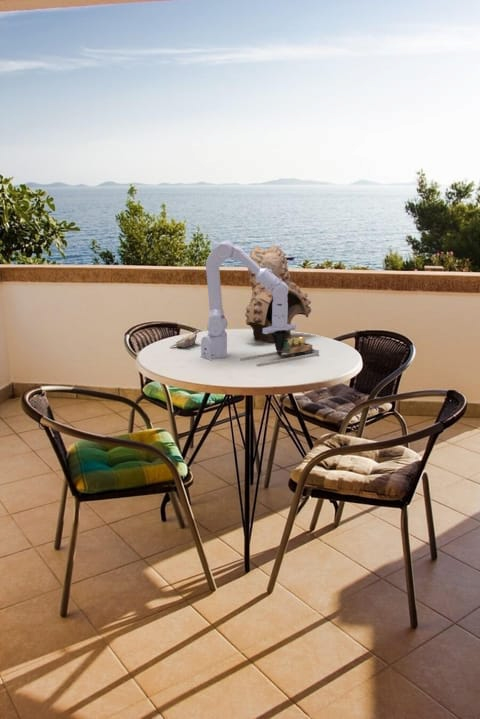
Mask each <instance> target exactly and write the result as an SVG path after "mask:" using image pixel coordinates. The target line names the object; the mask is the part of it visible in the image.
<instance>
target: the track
mask: <svg viewBox="0 0 480 719" xmlns="http://www.w3.org/2000/svg"><path fill="white" fill-rule="evenodd" d="M309 351H311V352H312V354H308V355H307V351H303V352H302V353H305V354H303V355H298V356H295V357H291V358H290V357H287V358H281V359H275V360H274V359H273V360H268V361H264V362H259V363H256V367H261V366H266V365H273V364H279V363H285V362H289V361H296V360H300V359H306V358H312V357H319V356H320V349H316V348H313V347H312V350H309ZM282 354H284V353H283V352H282ZM282 354H281V355H282ZM276 355H278V354H277V351H272V352H267V353H261V354H256V355H249V356H243V357H239V361H247V360H253V359H259V358H264V357H270V356H271V357H272V356H276Z"/></svg>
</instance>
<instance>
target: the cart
mask: <svg viewBox="0 0 480 719" xmlns="http://www.w3.org/2000/svg"><path fill="white" fill-rule="evenodd" d="M312 348H313V344H310V343H306V342H305V346H300V347H294V348H290V343H287V342H284V345H283V349H282V351H277V350H276V352H277V355H279V356H281V355H282V352H283V354H287V355H289V358H291V357H296V355H295V354H297V353H301V352H302V353H304V352H303V351H307V353H306V355H308V354H312V352H311V351H309V350H312Z"/></svg>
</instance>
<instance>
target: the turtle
mask: <svg viewBox="0 0 480 719" xmlns="http://www.w3.org/2000/svg"><path fill="white" fill-rule="evenodd" d="M199 333H200V330H198V329H197V330H195V331H194V332H193V333H190V334H188V335H186V337H182V338H181V339H179V340H178V341H176V342H175V343H174V344H173V345H171V346H170V347H169V348H170V349H171V348H172V347H176V348H179V347H180V348H189V347H190V346H192V345H193V344H195V342H196V340H197V336H198V335H197V334H199Z"/></svg>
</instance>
